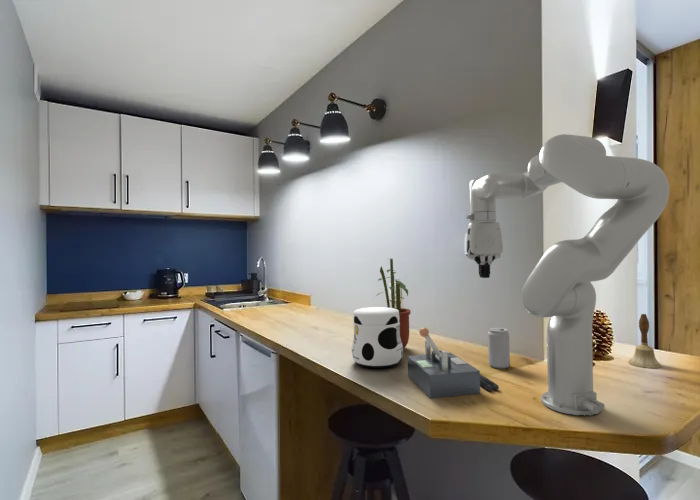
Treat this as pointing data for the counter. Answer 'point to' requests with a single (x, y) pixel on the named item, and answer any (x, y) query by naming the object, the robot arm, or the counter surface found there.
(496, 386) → the cord bundle
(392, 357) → the milk container
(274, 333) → the counter surface
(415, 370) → the breaker panel
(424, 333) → the lever
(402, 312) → the potted plant
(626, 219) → the robot arm
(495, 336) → the beverage can
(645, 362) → the hand bell
